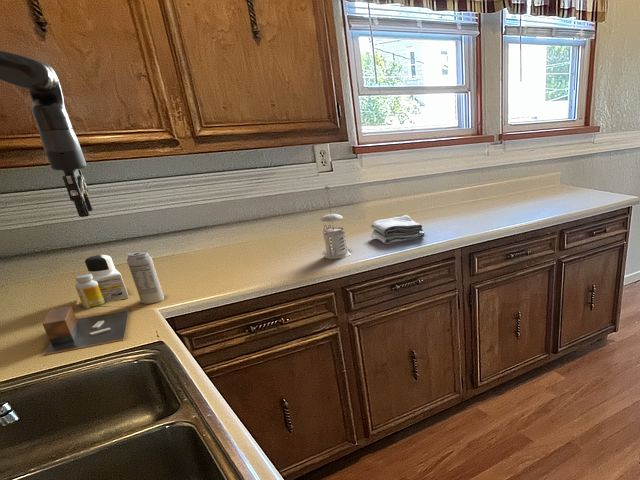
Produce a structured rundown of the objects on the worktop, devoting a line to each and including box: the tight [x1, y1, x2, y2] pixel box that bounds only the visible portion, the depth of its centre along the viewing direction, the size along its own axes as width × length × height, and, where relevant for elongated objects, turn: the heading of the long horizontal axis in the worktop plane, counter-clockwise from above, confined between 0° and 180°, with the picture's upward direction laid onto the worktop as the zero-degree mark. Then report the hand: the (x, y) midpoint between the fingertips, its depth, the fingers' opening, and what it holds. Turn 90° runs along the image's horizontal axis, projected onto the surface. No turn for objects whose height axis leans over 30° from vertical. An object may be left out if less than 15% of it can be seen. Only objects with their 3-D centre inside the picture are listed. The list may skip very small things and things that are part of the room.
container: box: [84, 254, 130, 303], centre depth 155 cm, size 8×8×13 cm
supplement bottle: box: [74, 272, 106, 309], centre depth 149 cm, size 5×5×10 cm
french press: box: [320, 185, 351, 260], centre depth 188 cm, size 10×12×25 cm
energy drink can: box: [126, 250, 165, 305], centre depth 150 cm, size 6×6×15 cm
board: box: [43, 309, 129, 357], centre depth 134 cm, size 16×24×1 cm, turn 29°
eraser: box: [42, 306, 79, 345], centre depth 130 cm, size 4×11×6 cm, turn 29°
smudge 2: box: [90, 328, 111, 336], centre depth 132 cm, size 4×1×1 cm, turn 139°
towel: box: [370, 214, 425, 245], centre depth 213 cm, size 15×18×8 cm
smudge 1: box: [92, 321, 104, 329], centre depth 136 cm, size 4×1×1 cm, turn 14°
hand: (86, 213), depth 139 cm, fingers open, 8 cm apart
